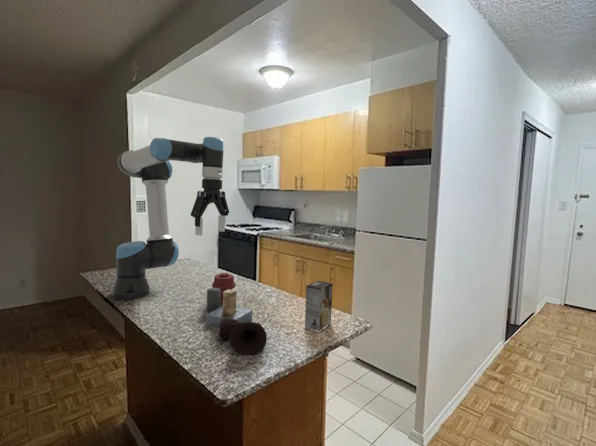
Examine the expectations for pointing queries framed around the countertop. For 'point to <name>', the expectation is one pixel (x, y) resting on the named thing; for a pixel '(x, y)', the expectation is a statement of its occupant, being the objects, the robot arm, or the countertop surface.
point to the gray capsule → (213, 299)
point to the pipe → (243, 336)
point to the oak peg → (229, 302)
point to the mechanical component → (223, 283)
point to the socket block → (227, 316)
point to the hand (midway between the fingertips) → (210, 233)
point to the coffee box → (318, 305)
